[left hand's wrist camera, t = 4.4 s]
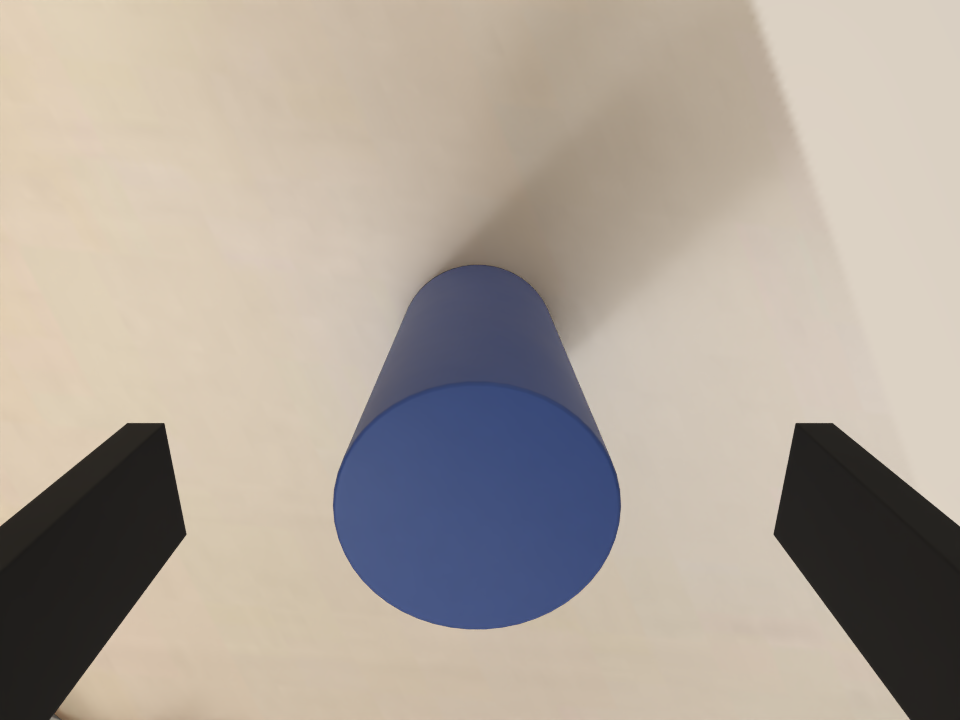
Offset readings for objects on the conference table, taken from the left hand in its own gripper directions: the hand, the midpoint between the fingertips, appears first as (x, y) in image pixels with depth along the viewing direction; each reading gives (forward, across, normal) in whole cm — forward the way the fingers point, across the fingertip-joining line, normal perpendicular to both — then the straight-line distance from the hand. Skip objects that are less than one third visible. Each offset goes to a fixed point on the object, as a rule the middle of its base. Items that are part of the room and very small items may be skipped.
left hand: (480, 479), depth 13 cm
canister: (+11, 0, 0) cm, 11 cm away
